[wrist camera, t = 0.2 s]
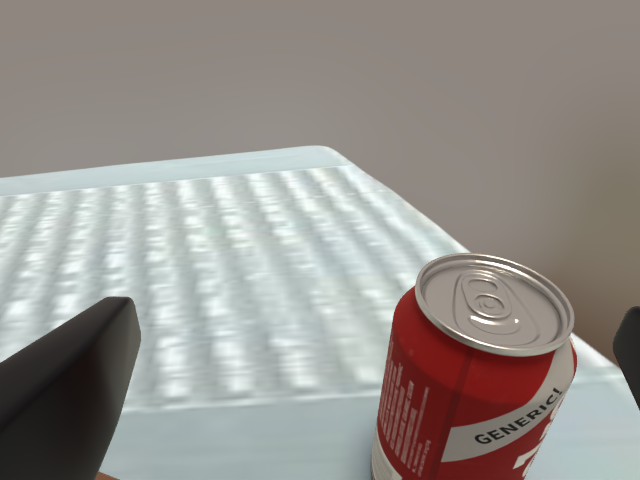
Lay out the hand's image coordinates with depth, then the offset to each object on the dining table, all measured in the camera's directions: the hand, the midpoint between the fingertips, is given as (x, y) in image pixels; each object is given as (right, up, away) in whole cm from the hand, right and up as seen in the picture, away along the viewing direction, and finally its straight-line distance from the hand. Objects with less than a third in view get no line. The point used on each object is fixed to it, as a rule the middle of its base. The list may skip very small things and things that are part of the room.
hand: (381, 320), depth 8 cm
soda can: (+5, -11, +15) cm, 19 cm away
